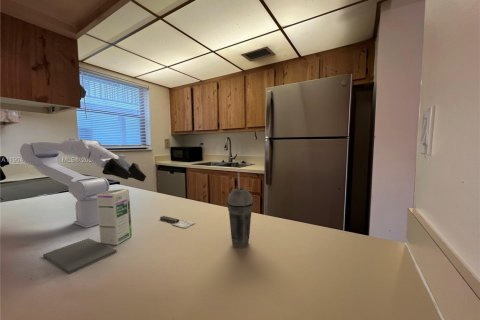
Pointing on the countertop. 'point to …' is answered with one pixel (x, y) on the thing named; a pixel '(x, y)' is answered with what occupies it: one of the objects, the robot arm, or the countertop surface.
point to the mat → (79, 254)
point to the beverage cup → (240, 215)
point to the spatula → (178, 222)
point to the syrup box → (114, 216)
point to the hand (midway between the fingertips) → (136, 177)
